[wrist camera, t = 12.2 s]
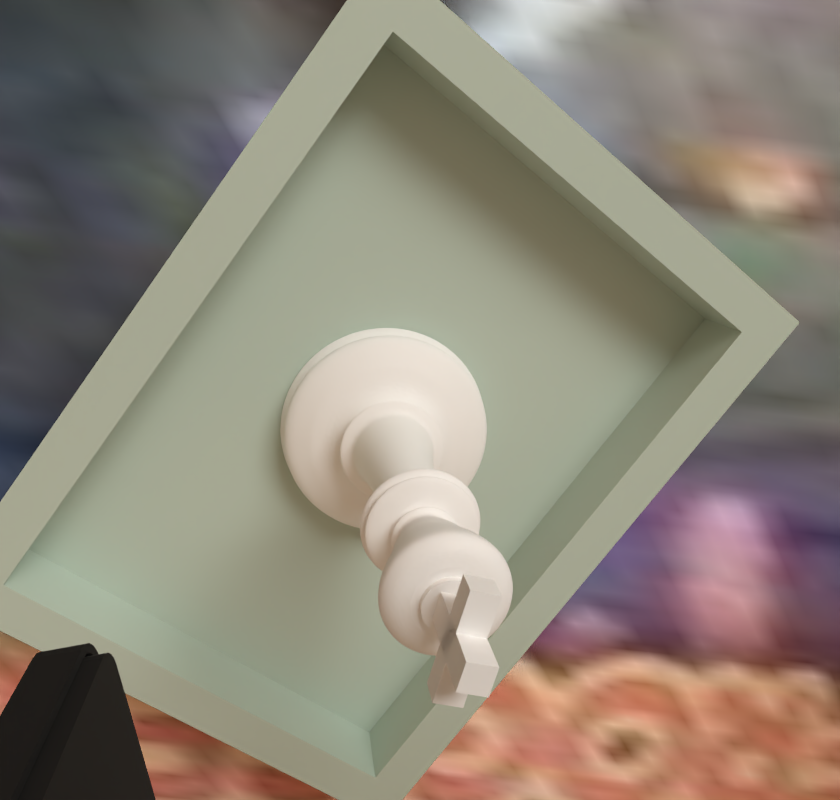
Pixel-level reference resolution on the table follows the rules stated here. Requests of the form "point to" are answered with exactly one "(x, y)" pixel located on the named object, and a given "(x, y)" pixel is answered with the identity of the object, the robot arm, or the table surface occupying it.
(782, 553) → the table surface
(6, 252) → the table surface
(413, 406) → the chess piece
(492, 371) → the tray
